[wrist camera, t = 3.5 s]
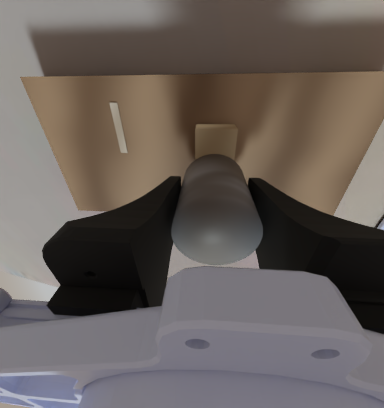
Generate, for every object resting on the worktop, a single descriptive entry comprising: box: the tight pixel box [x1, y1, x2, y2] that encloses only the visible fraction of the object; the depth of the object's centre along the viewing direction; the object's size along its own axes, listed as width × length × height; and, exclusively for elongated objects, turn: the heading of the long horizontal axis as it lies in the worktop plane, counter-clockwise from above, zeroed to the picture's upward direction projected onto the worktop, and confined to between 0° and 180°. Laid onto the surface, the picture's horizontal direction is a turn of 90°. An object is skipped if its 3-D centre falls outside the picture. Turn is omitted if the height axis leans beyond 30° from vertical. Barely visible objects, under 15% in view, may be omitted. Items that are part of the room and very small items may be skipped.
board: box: [20, 71, 384, 216], centre depth 14 cm, size 22×10×2 cm, turn 91°
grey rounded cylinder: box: [171, 124, 263, 265], centre depth 12 cm, size 5×9×8 cm, turn 1°
